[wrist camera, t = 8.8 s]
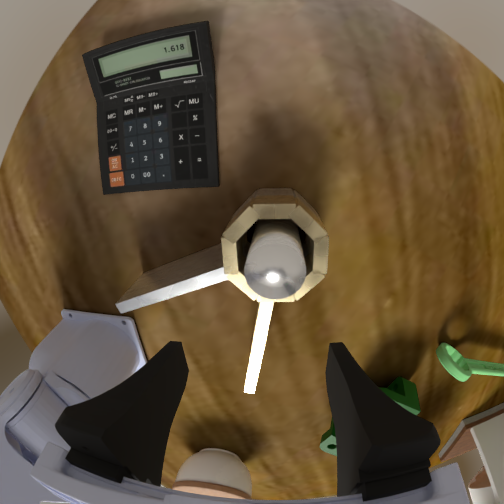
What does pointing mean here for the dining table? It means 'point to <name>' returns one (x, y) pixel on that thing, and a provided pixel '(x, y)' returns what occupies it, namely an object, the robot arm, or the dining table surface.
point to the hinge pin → (275, 259)
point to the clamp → (397, 391)
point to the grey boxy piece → (482, 453)
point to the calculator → (156, 110)
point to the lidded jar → (214, 475)
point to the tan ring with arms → (239, 264)
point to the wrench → (465, 364)
